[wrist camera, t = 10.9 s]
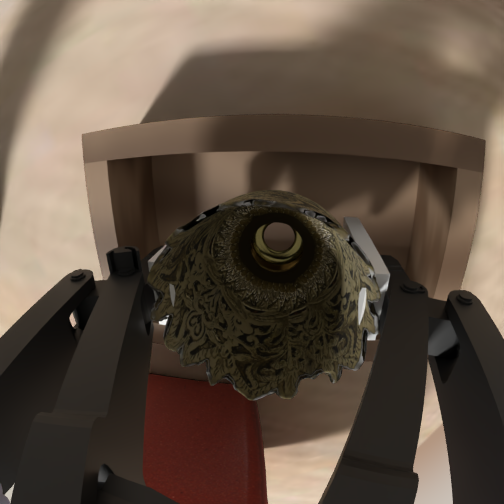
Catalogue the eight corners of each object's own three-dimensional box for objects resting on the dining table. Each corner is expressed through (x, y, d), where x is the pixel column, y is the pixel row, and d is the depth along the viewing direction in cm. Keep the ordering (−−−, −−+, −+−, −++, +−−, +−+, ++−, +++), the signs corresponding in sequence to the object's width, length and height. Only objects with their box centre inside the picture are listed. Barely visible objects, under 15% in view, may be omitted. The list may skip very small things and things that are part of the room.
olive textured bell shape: (251, 312, 18) (221, 416, 11) (187, 207, 16) (106, 269, 9) (367, 266, 16) (405, 365, 9) (311, 142, 14) (324, 153, 7)
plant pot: (291, 359, 24) (264, 560, 9) (287, 462, 31) (270, 577, 16) (99, 339, 27) (5, 459, 12) (149, 441, 34) (105, 535, 19)
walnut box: (136, 129, 19) (81, 134, 13) (436, 134, 16) (485, 140, 10) (154, 291, 23) (118, 336, 18) (410, 306, 20) (435, 358, 15)
